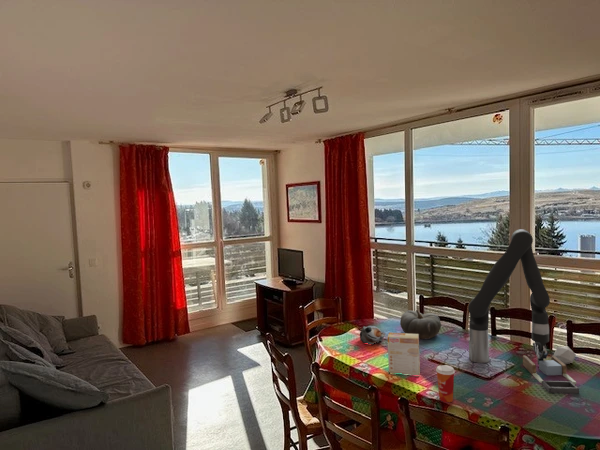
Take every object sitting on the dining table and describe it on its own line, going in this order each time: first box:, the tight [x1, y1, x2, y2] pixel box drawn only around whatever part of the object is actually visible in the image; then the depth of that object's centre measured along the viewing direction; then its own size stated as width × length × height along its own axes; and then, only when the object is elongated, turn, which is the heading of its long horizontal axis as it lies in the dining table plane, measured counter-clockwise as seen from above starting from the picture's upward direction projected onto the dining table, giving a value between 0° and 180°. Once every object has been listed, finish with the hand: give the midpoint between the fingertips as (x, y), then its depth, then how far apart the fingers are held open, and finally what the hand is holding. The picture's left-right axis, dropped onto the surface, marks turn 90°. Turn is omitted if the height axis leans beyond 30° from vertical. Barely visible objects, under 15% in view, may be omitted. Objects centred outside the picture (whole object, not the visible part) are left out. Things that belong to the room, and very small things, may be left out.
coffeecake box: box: [387, 332, 421, 376], centre depth 203 cm, size 15×7×20 cm, turn 71°
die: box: [552, 345, 577, 365], centre depth 206 cm, size 8×9×10 cm
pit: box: [541, 380, 580, 395], centre depth 178 cm, size 12×7×2 cm, turn 81°
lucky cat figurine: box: [359, 325, 386, 345], centre depth 248 cm, size 15×12×14 cm
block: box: [538, 359, 563, 376], centre depth 197 cm, size 7×7×4 cm
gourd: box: [399, 309, 442, 340], centre depth 257 cm, size 25×25×17 cm
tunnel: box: [522, 355, 567, 376], centre depth 199 cm, size 15×12×5 cm
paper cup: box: [435, 364, 456, 403], centre depth 174 cm, size 8×8×14 cm
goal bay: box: [532, 372, 577, 385], centre depth 189 cm, size 15×9×1 cm, turn 81°
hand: (540, 365), depth 203 cm, fingers closed
